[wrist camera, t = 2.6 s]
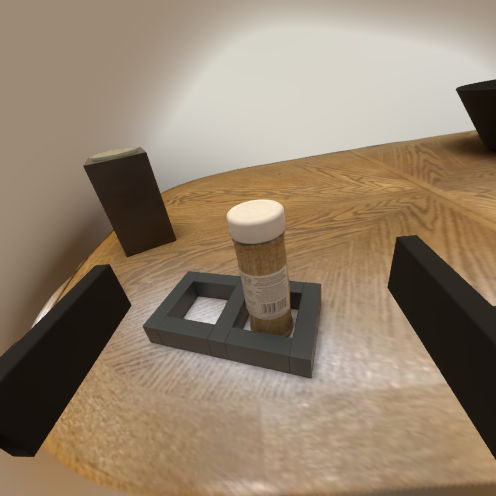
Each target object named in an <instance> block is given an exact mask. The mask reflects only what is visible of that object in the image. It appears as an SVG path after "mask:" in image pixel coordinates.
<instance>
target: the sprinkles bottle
mask: <svg viewBox="0 0 496 496" xmlns="http://www.w3.org/2000/svg"><path fill="white" fill-rule="evenodd" d="M227 223H228V228H229V233H230V236H231V238H232V240H233V242H234V246H235V250H236V255H237V259H238V268H239V272H240V277H241V282H242V286H243V291H244V296H245V301H246V306H247V309H248V313H249V317H250V325H251V331H255V332H260V333H266V334H272V335H278V336H283V337H287V336H288V335H289V334H290V332H291V330H292V327H293V320H292V317H291V308H290V287H289V276H288V272H287V261H286V260H287V259H286V251H285V242H284V233H285V216H284V209H283V206H282V205H281V204H280V203H278V202H276V201H272V200H253V201H248V202H244V203H241V204H239V205H237V206H235V207H233V208H232V209H231V210H230V211H229V212H228V213H227Z"/></svg>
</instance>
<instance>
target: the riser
mask: <svg viewBox="0 0 496 496" xmlns="http://www.w3.org/2000/svg"><path fill="white" fill-rule="evenodd" d="M137 150H138V151H137V152H135V153H132V154H129V155H125V156H121V157H117V158H112V159H107V160H100V161H92V160H91V158H88V159H87V161H86V162H85V164H84V166H83V167H84V168H85V171H86V173H87V175H88V177H89V179H90V181H91V183H92V185H93V187H94V189H95V191H96V194H97V196H98V198H99V200H100V202H101V204H102V206H103V208H104V210H105V212H106V214H107V216H108V218H109V220H110V223H111V225H112V227H113V229H114V231H115V233H116V235H117V237H118V239H119V241H120V243H121V245H122V247H123V249H124V252H125V254H126V256H127V257H128V256H131V255H134V254H137V253H140V252H143V251H146V250H149V249H152V248H154V247H157V246H160V245H163V244H166V243H169V242H172V241H175V240H176V238H175V235H174V232H173V229H172V226H171V223H170V220H169V217H168V214H167V211H166V208H165V206H164V203H163V200H162V197H161V194H160V191H159V188H158V185H157V183H156V180H155V177H154V174H153V171H152V168H151V165H150V162H149V159H148V156H147V153H146V152H145V151H144V150H143V149H142V148H141V147H139V148H137Z"/></svg>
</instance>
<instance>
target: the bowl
mask: <svg viewBox="0 0 496 496" xmlns="http://www.w3.org/2000/svg"><path fill="white" fill-rule="evenodd" d="M456 91H457V93H458V95H459V97H460V98H461V101H462V102H463V104H464V107H465V108H466V110H467V112H468V114H469V116H470V118H471V120H472V122H473V124H474V126H475V128H476V130H477V132H478V134H479V136H480V138H481V140H482V142H483V144H484V145H485V146H486V147H488V148H490V149H492V150H495V151H496V80H490V81H484V82H478V83H473V84H469V85H464V86H461V87H458V88H457V89H456Z"/></svg>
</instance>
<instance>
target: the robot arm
mask: <svg viewBox="0 0 496 496" xmlns="http://www.w3.org/2000/svg"><path fill="white" fill-rule="evenodd" d="M388 289H389V291H390V292H391V294H392V296H393V297H394V299H395V300H396V302H397V303H398V305H399V307H400V308H401V310H402V311H403V313H404V315H405V316H406V318H407V319H408V321H409V323H410V324H411V326H412V327H413V329H414V331H415V332H416V334H417V335H418V337H419V338H420V340H421V342H422V343H423V345H424V346H425V348H426V350H427V351H428V353H429V354H430V356H431V358H432V359H433V361H434V362H435V364H436V366H437V367H438V369H439V370H440V372H441V374H442V375H443V377H444V378H445V380H446V381H447V383H448V385H449V386H450V388H451V389H452V391H453V393H454V394H455V396H456V397H457V399H458V401H459V402H460V404H461V405H462V407H463V409H464V410H465V412H466V413H467V415H468V416H469V418H470V420H471V421H472V423H473V424H474V426H475V428H476V429H477V431H478V432H479V434H480V436H481V437H482V439H483V440H484V442H485V444H486V445H487V447H488V448H489V450H490V451H491V453H492V455H493V456H494V458H495V459H496V306H492V305H491V304H490V303H489V302H488V301H487V300H486V299H484V298H483V297H482V296H481V295H480V294H479V293H478V292H477V291H476V290H475V289H474V288H473V287H472V286H471V285H469V284H468V283H467V282H466V281H465V280H464V279H463V278H462V277H461V276H460V275H459V274H458V273H457V272H455V271H454V270H453V269H452V268H451V267H450V266H449V265H448V264H447V263H446V262H445V261H444V260H443V259H442V258H440V257H439V256H438V255H437V254H436V253H435V252H434V251H433V250H432V249H431V248H430V247H429V246H428V245H427V244H425V243H424V242H423V241H422V240H421V239H420V238H419V237H418V236H417V235H413V236H403V237H397V238H396V244H395V249H394V255H393V260H392V266H391V271H390V277H389V282H388ZM130 307H131V303H130V301H129V300H128V298H127V296H126V294H125V292H124V290H123V288H122V287H121V285H120V283H119V281H118V279H117V277H116V275H115V274H114V272H113V270H112V268H111V266H110V264H106V265H96V266H94V267H93V268H92V269H91V270H90V271H89V272H88V273H87V274H86V275H85V276H84V277H83V278H82V279H81V280H80V281H79V282H78V283H77V284H76V285H75V286H74V287H73V288H72V289H71V290H70V291H69V292H68V293H67V294H66V295H65V296H64V297H63V298H62V299H61V300H60V301H59V302H58V303H57V304H56V305H55V306H54V307H53V308H52V309H51V310H50V311H49V312H48V313H47V314H46V315H45V316H44V317H43V318H42V319H41V320H40V321H39V322H38V323H37V324H36V325H35V326H34V327H33V328H32V329H31V330H30V331H29V332H28V333H27V334H26V335H25V336H24V337H23V338H22V339H20V340H19V341H17V342H16V343H15V344H14V345H12V346H11V347H10V348H9V349H8V350H7V351H6V352H5V353H4V354H3V355H2V356H1V357H0V448H1V449H2V450H4V451H6V452H7V453H9V454H10V455H12V456H18V457H34V456H35V454H36V453H37V451H38V450H39V448H40V447H41V445H42V444H43V442H44V440H45V439H46V437H47V436H48V434H49V433H50V431H51V430H52V428H53V427H54V425H55V423H56V422H57V420H58V419H59V417H60V416H61V414H62V413H63V411H64V409H65V408H66V406H67V405H68V403H69V402H70V400H71V399H72V397H73V395H74V394H75V392H76V391H77V389H78V388H79V386H80V385H81V383H82V382H83V380H84V378H85V377H86V375H87V374H88V372H89V371H90V369H91V368H92V366H93V364H94V363H95V361H96V360H97V358H98V357H99V355H100V354H101V352H102V350H103V349H104V347H105V346H106V344H107V343H108V341H109V340H110V338H111V337H112V335H113V333H114V332H115V330H116V329H117V327H118V326H119V324H120V323H121V321H122V319H123V318H124V316H125V315H126V313H127V312H128V310H129V309H130Z"/></svg>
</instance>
